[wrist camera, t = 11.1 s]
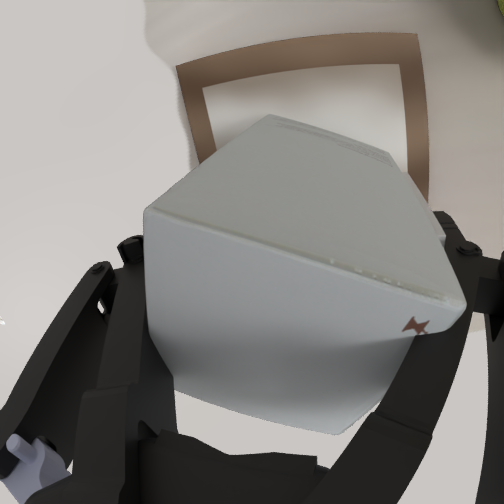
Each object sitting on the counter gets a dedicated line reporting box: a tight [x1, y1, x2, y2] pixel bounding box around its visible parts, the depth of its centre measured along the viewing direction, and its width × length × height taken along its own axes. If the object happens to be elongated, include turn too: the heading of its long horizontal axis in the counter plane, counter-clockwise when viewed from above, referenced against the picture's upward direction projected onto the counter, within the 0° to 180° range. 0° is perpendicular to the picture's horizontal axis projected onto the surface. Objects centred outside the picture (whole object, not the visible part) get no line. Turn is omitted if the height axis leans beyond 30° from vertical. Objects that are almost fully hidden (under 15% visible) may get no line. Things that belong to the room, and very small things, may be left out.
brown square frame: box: [176, 33, 429, 203], centre depth 19 cm, size 18×15×2 cm
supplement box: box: [143, 114, 467, 435], centre depth 12 cm, size 7×7×13 cm
